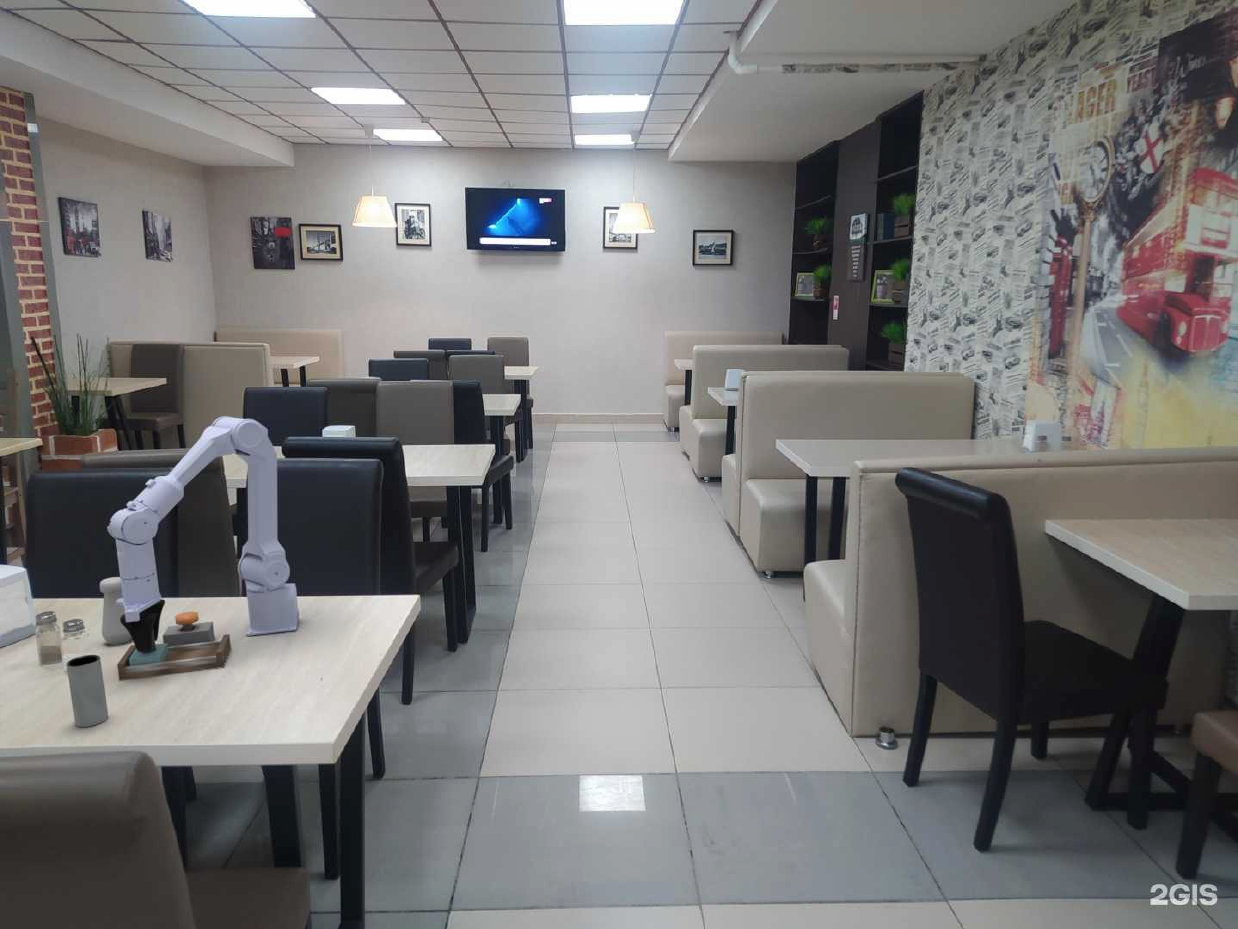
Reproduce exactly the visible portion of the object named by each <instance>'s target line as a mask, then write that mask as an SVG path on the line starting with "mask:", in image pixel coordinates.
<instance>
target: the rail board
mask: <svg viewBox="0 0 1238 929" xmlns="http://www.w3.org/2000/svg"><path fill="white" fill-rule="evenodd" d="M135 649H136V647H135V644H132V645H130V646H129V647H128V649H127V650H126V652H125V653H124V654H123V656H122V657H121V658H120V660H119V662H117V664H116V666H117V672H118V674H117V675H118V679H119V680H118V681H124V680H133V679H141V678H149V677H150V678H151V677H157V676H165V675H173V674H182V673H188V672H189V673H190V672H195V671H196V670H198V671H204V670H203V669H206V670H212V669H211V668H214V669H220V668H219V667H222V668H224V666H225V664H226V662H227V660H228V657H229V654H230V652H231V650H232V645H231V637H230V633H228V634H226V633H225V634H223V636H222V637H221V640H216V641H215V640H214V641H213V642H205V643H196V644H187V645H179V646H170V647H168V655H167V656H166V658H165V660H164V661H163V662H159V663H151V664H143V665H135V666H130V664H129V658H130V657H131V655H132V654H133V652H134V651H135ZM227 656H228V657H227ZM226 659H227V660H226ZM224 663H225V664H224ZM217 667H218V668H217ZM201 669H202V670H201Z"/></svg>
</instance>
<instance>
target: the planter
mask: <svg viewBox="0 0 1238 929" xmlns="http://www.w3.org/2000/svg"><path fill="white" fill-rule="evenodd" d="M65 666H66V672H67V678H68V685H69V691H70V699H71V704H72V705H71V706H72V712H73V713H72V714H73V718H74V724H75V726H76V727H80V728H87V727H93V725H94V726H96V725H99V724H102V723H104V722H105V721H106V720H108V718H109V711H108V710H109V709H108V704H107V696H106V690H105V683H104V681H105V680H104V676H103V675H104V674H103V667H102V659H101V656H100V655H98V654H86V655H81V656H77V657H75V658H72V659H71V660H68V661H67V662H66V665H65Z"/></svg>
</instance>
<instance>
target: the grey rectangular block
mask: <svg viewBox="0 0 1238 929" xmlns="http://www.w3.org/2000/svg"><path fill="white" fill-rule="evenodd" d="M192 624H193V630H189V631H184V630H183V625H177V624H176V625H170V626H167V628H166V629H165V631H164V633H163V635H162V640H163V641H162V642H163V643H167V645H168V647H170V646H179V645H187V644H196V643H205V642H213V640H214V641H215V638H216V637H215V627H214V621H207V622H206V621H205V622H195V623H192ZM163 643H162V644H163Z"/></svg>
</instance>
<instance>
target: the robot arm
mask: <svg viewBox="0 0 1238 929" xmlns="http://www.w3.org/2000/svg"><path fill="white" fill-rule="evenodd" d="M268 434H269V430H268V428H267V427H266V426H264V425H262V423H260V422H258V421H257V420H255V419H253V418H239V417H232V416H229V415H223V416H220V417H218V418H216V419H215V420H213V422H212V424H211V425H209V426H208V427H207V428H205V429H204V431H203V432H202V434H201V436H200V438H199V439H198V440H197V441H196V443H194V444H193V446H192V447H190V449H189V450H188V451H187V453H186V454H185V455H184V456H183V457H182V459H181V460H180V461H179V462H178V463H177V464H176V465H175V466H174V467H173V469H172V470H171V471H170V472H168V474H167V475H164V476H163V475H162V476H161V475H160V476H156V477H155V478H154V479H148V481H146V483H145V486H146V487H145V488H144V489H143V490H142V491H141V492H140V493H139V494H138V495H137V496H136V498H134V499H133V500H130V501H128V502H127V503H126V507H127V508H123V509H120V510H118V511H116V512H115V513H114V514H113V515H112V516H111V518H110V520H109V521H110V522H109V525H108V526H107V527H106V528H107V532H108V533H109V535H110V536H111V537H112V538H114V539H115V545H116V555H117V561H118V562H117V563H118V571H119V577H120V578H121V586H122V593H123V598H121V599H118V600H117V601H116V605H123V607H124V609H125V615H122V616H121V617H120V621H121V624H122V625H123V626H124V627H125V628H126V629H127V630H128V632H129V633H130V635H131V637H132V640H131V641H132V642H133V645H135V647H136V649H137V651H138V652H142V651H150V650H151V648H152V633H153V631H154V638H155V642H157V641H158V639H159V633H160V632H159V631H160V622H161V616H162V612H163V609H164V606H165V604H166V600H165V599H162V595H161V593H160V589H159V587H160V586H159V581H158V572H157V566H156V558H155V550H154V542H153V538H154V537H155V536H156V534H157V533H158V529H159V528H158V527H159V523H160V522H161V521H162V520H163V519H164V518H166V516H167V514H169V513H170V512H171V510H172V509H173V508H174V507H175V506H176V505H178V503H179V502H180V501H181V500H182V499H183V498H184V497H185V496H184V493H185V492H184V488H185V486H187V484H188V483H189V482H191V481H192V480H193V479H194V478H195V476H197V475H198V474H200V472H201V471H202V470H204V468H206V467H207V466H208V465H209V464H210V463H211V462H212V461H213V460H214V459H215V458H218V457H223V456H229V455H233V454H235V455H236V456H238V457H239V458H240V459H241V460H243V461H244V462H245V463H246V464H247V516H248V518H247V524H248V528H247V529H248V530H247V535H248V536H247V538H248V539H247V541H246V543H244V545H242V548H241V552H242V553H241V557H240V560H239V562H238V565H237V572H238V574H239V577H241V578H242V579H243V580H244V581H245V586H246V588H245V590H246V599H247V607H248V608H247V609H248V616H249V617H248V618H249V625H248V628H247V630H246V633H245V635H246V636H248V637H250V636H256V635H258V636H259V635H266V634H267V635H268V634H275V633H282V632H283V633H284V632H293V631H297V629H298V628H297V627H298V624H299V620H300V610H299V604H298V596H297V594H298V592H297V586H296V583H286V582H287V581H288V580H289V577H290V573H291V570H290V569H291V568H290V566H289V563H288V562H287V559H286V551H285V549H284V547H283V546H282V544H281V543H280V542H279V540H278V455H277V450H276V449H275V448H274V445H273V443H272V442H271V440H270V437H269V435H268Z"/></svg>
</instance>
